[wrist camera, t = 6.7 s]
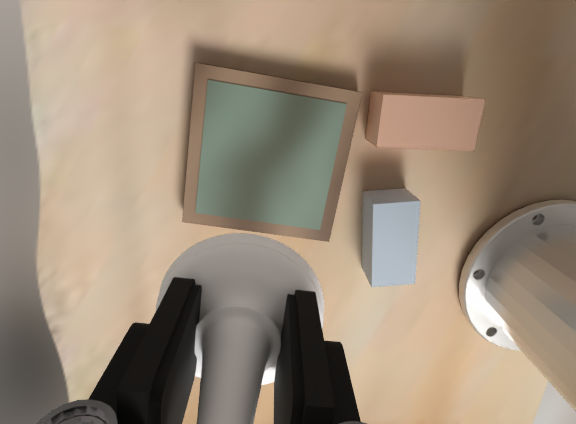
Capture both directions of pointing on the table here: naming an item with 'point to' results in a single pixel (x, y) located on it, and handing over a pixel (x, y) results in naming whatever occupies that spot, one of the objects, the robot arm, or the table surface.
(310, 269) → the chess piece
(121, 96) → the table surface
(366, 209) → the slate-blue brick
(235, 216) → the green-topped square tray
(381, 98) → the terracotta brick
